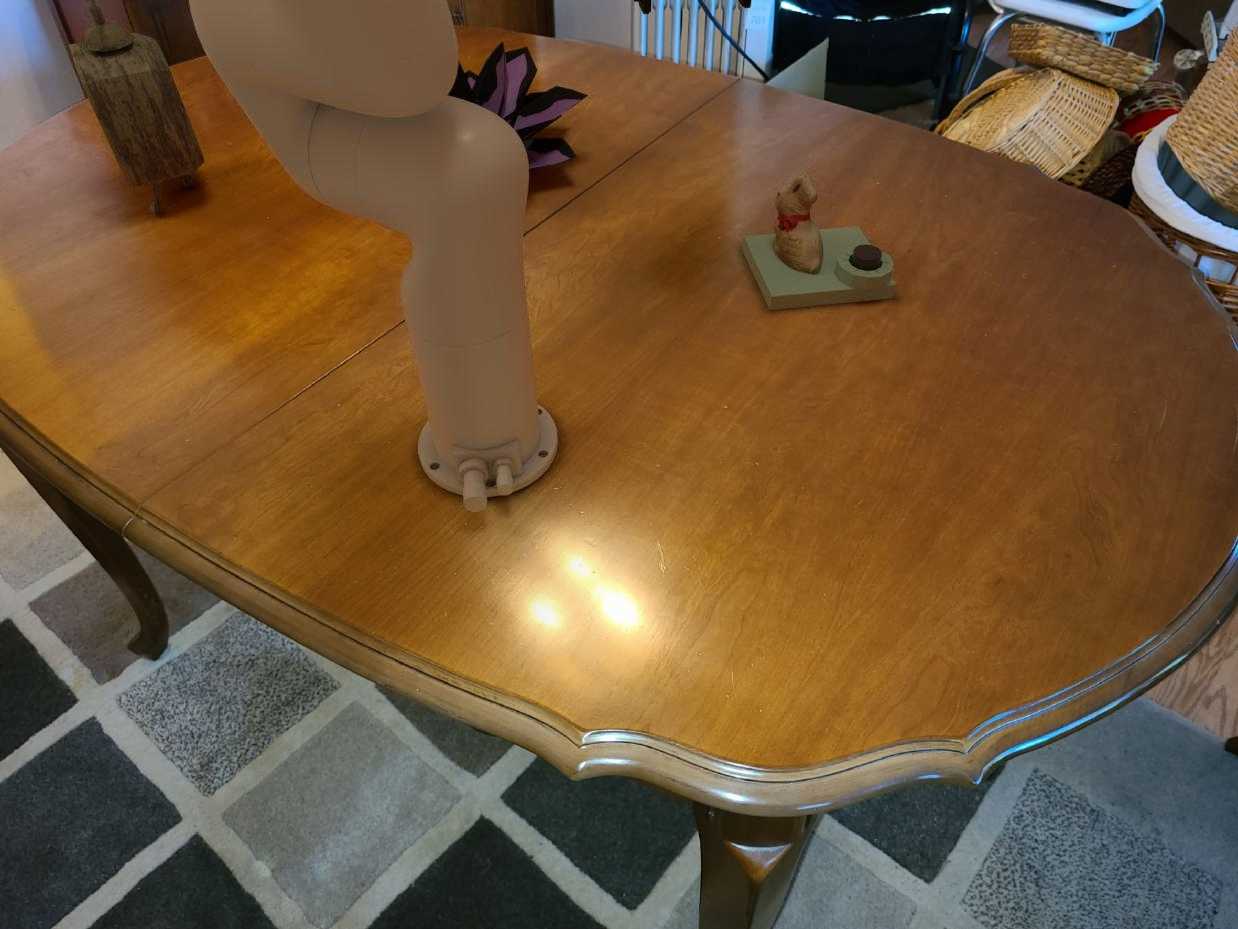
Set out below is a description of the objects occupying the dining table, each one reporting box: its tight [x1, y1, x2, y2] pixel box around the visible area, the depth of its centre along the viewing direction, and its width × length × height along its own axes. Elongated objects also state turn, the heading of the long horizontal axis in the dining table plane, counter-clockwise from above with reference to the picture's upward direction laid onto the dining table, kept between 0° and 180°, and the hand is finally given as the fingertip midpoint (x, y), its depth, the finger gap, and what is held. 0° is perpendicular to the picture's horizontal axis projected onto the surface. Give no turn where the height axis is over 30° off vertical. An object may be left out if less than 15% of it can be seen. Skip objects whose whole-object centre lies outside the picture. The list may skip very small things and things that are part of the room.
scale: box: [741, 225, 898, 311], centre depth 94 cm, size 12×14×4 cm
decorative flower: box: [448, 40, 589, 171], centre depth 108 cm, size 32×32×15 cm
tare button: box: [851, 244, 883, 271], centre depth 91 cm, size 3×3×2 cm
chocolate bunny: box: [773, 172, 823, 274], centre depth 91 cm, size 6×8×10 cm
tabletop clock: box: [68, 0, 206, 216], centre depth 99 cm, size 14×9×25 cm, turn 30°
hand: (694, 6), depth 80 cm, fingers open, 9 cm apart
